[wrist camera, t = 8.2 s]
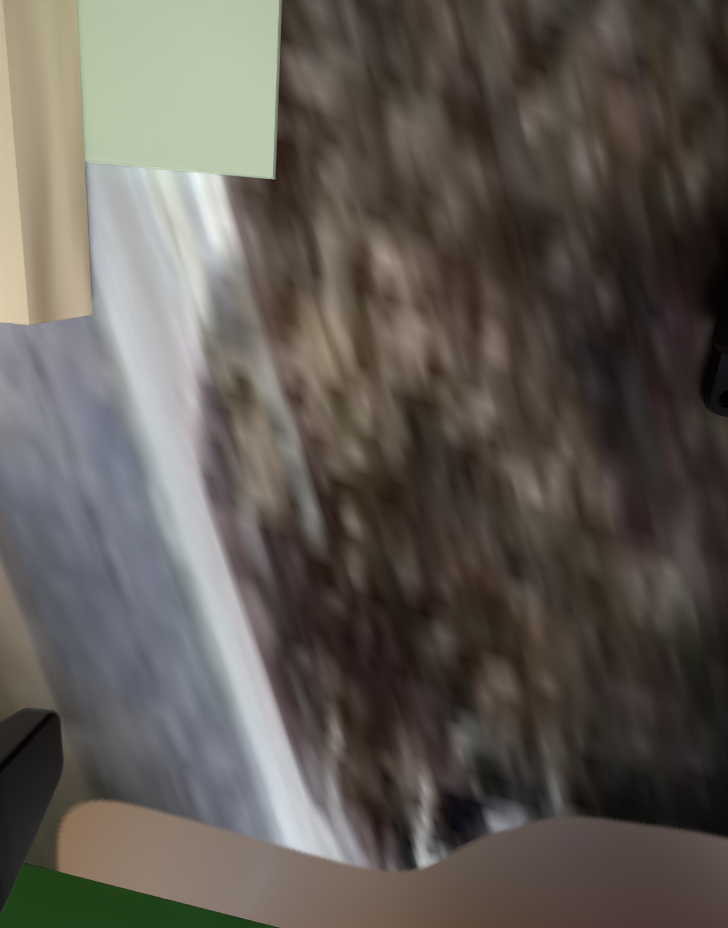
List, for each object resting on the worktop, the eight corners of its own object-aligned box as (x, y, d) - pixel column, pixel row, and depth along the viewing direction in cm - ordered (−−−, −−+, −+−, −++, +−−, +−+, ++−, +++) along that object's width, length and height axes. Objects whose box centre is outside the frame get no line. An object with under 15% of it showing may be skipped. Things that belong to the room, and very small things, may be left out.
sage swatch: (285, -92, 15) (282, -101, 15) (275, 179, 17) (272, 177, 17) (38, -113, 15) (29, -122, 15) (55, 159, 17) (47, 157, 17)
